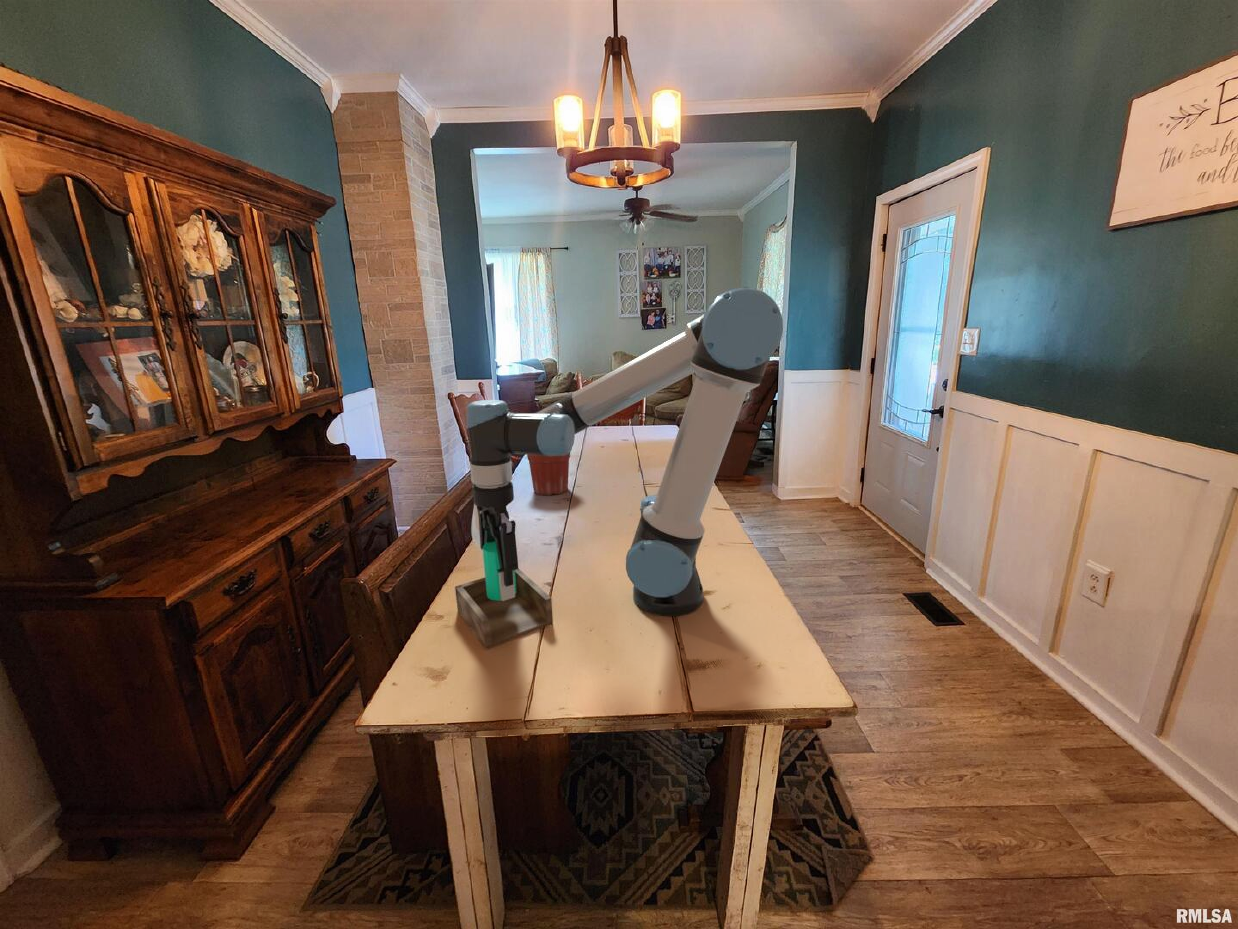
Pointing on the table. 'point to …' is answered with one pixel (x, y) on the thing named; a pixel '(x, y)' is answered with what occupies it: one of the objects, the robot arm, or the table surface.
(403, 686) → the table surface
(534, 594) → the tray
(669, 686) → the table surface
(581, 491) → the table surface
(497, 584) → the candle
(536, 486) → the flower pot
